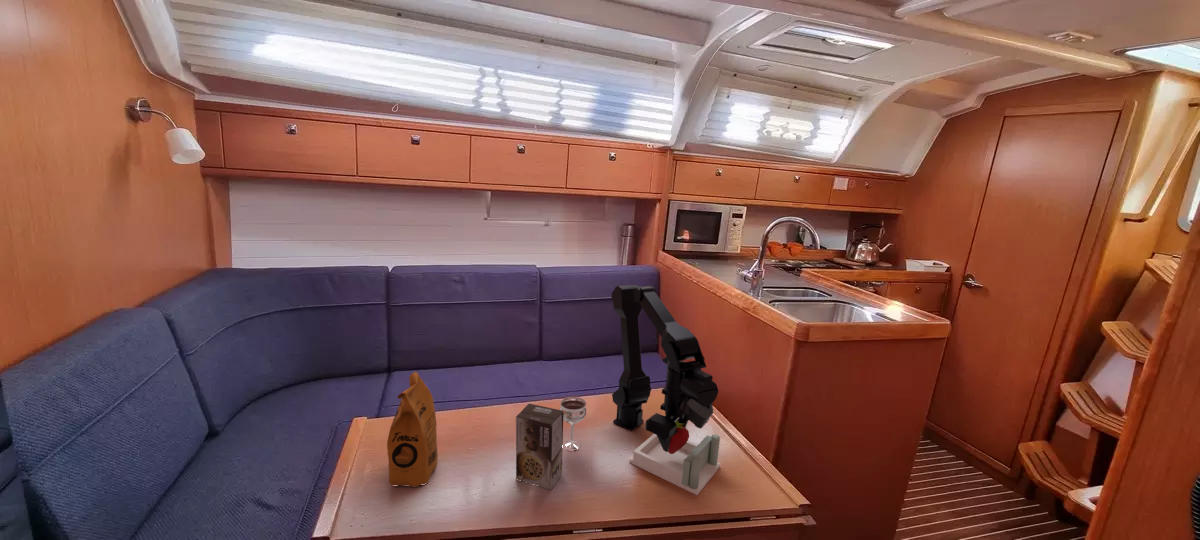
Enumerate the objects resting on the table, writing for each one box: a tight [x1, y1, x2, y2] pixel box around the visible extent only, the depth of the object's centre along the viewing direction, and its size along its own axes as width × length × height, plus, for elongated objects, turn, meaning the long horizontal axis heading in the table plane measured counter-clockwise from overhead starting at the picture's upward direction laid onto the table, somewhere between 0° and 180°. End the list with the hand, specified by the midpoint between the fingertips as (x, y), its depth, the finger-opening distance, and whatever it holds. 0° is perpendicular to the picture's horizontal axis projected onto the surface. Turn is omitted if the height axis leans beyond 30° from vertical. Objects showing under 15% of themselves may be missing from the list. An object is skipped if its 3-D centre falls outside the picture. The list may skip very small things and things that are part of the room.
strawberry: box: [668, 421, 690, 454], centre depth 109 cm, size 6×8×10 cm
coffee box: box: [515, 403, 564, 491], centre depth 102 cm, size 9×6×16 cm
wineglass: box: [559, 396, 587, 449], centre depth 114 cm, size 7×7×12 cm
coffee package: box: [386, 371, 439, 487], centre depth 101 cm, size 10×12×22 cm
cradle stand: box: [628, 433, 721, 496], centre depth 109 cm, size 18×13×8 cm
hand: (672, 444), depth 110 cm, fingers closed on strawberry, 6 cm apart
